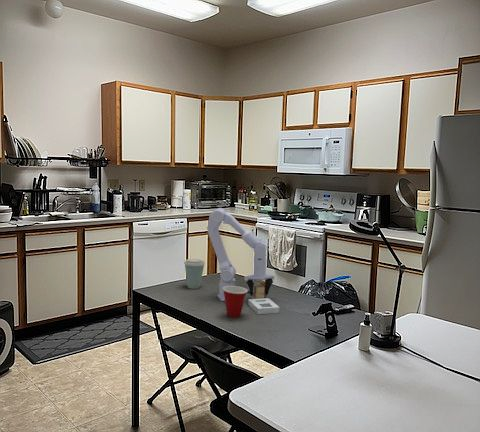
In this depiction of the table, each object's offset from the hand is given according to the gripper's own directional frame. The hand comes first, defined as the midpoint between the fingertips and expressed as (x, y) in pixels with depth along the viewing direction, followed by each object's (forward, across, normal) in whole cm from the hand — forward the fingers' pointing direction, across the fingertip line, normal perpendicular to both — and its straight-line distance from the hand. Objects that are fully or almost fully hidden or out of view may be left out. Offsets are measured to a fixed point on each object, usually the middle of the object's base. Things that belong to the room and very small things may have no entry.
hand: (259, 294), depth 211 cm
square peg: (+3, 0, 0) cm, 3 cm away
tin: (+3, +2, +9) cm, 10 cm away
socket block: (+3, -2, -12) cm, 13 cm away
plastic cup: (+3, -18, -18) cm, 25 cm away
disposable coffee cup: (+3, -26, +29) cm, 39 cm away
